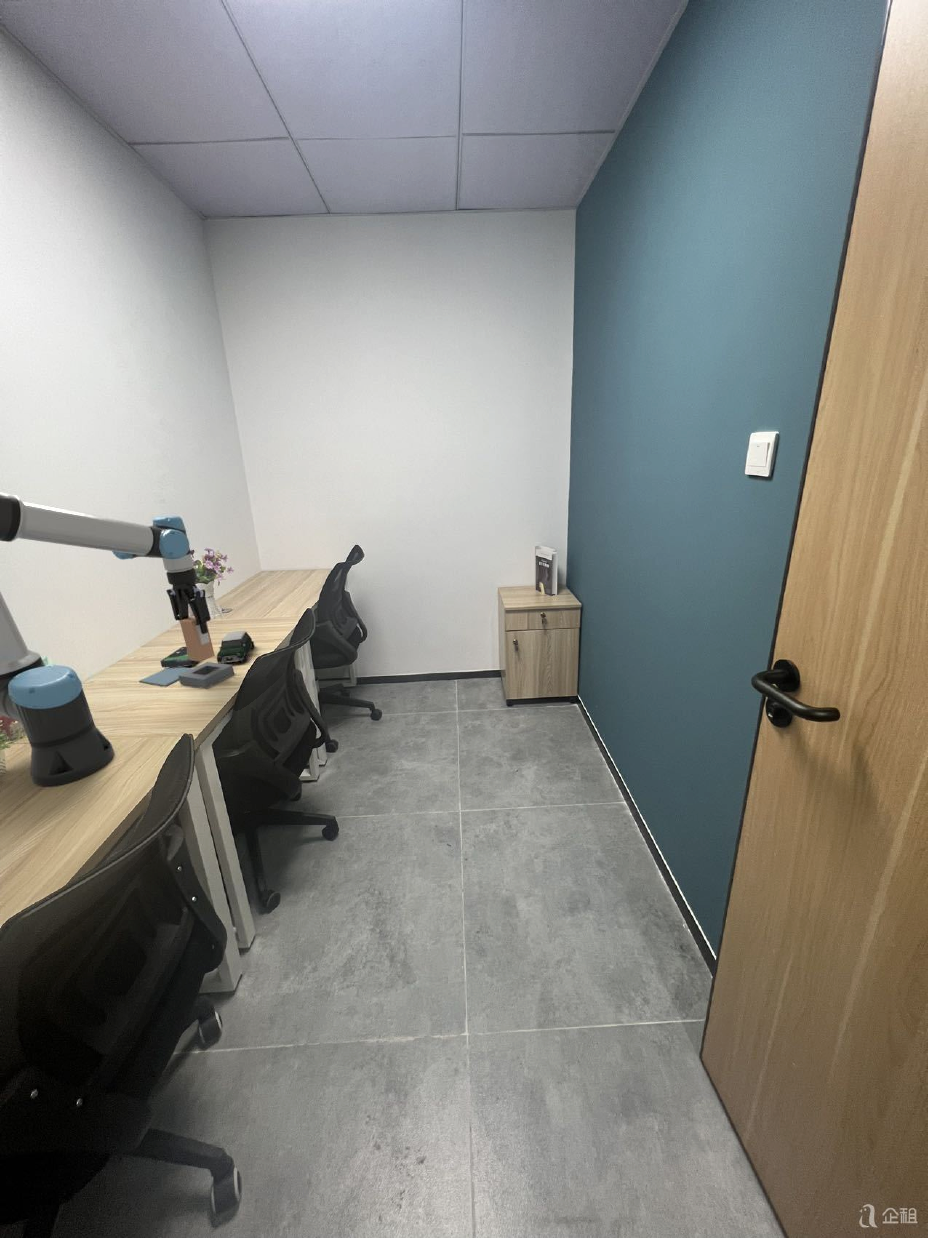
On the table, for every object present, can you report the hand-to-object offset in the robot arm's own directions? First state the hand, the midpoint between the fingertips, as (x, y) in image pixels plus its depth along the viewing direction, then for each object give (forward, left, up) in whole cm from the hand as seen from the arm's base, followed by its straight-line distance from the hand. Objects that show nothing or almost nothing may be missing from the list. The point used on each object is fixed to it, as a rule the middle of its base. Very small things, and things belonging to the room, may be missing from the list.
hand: (198, 642), depth 151 cm
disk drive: (+10, +21, -13) cm, 26 cm away
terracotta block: (0, 0, -5) cm, 5 cm away
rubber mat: (-2, +15, -13) cm, 20 cm away
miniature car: (+18, +5, -13) cm, 23 cm away
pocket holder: (0, 0, -13) cm, 13 cm away
